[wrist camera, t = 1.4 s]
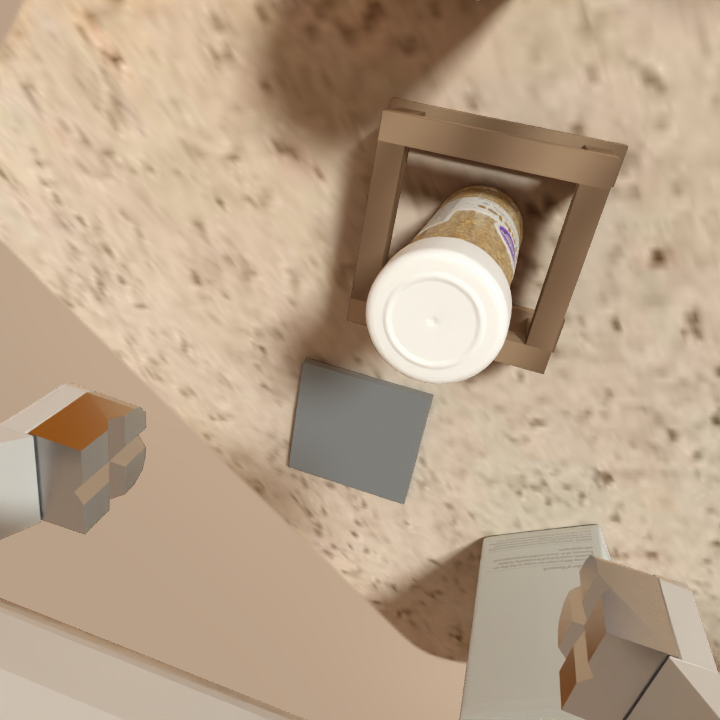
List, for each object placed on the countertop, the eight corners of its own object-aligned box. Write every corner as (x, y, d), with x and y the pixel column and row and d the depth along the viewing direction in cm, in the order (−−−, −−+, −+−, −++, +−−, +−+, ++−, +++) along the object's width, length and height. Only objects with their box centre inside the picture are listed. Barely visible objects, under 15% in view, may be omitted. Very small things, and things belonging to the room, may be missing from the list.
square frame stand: (626, 145, 26) (639, 155, 23) (553, 348, 31) (554, 383, 28) (393, 97, 28) (370, 99, 25) (358, 295, 33) (334, 322, 29)
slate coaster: (433, 394, 34) (431, 399, 34) (405, 498, 38) (403, 504, 38) (306, 358, 36) (302, 362, 35) (292, 461, 40) (288, 466, 39)
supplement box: (480, 534, 38) (453, 719, 27) (601, 521, 35) (627, 722, 24) (511, 620, 40) (498, 823, 29) (628, 614, 37) (663, 838, 26)
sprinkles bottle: (542, 236, 29) (540, 339, 17) (468, 289, 31) (423, 413, 20) (486, 162, 28) (444, 218, 17) (414, 221, 31) (333, 308, 19)
